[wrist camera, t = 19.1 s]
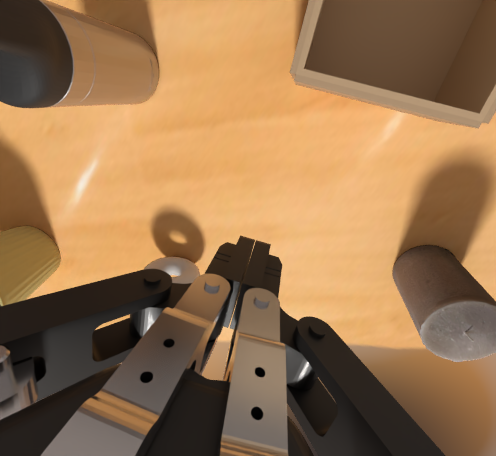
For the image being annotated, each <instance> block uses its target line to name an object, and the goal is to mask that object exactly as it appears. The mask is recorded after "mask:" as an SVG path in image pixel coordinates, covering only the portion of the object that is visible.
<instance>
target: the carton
mask: <svg viewBox="0 0 496 456" xmlns="http://www.w3.org/2000/svg"><path fill="white" fill-rule="evenodd" d="M290 74H291V76H292V78H294V82H295V84H296V85H300V86H303V87H307V88H311V89H315V90H319V91H323V92H327V93H331V94H334V95H338V96H342V97H346V98H350V99H354V100H358V101H361V102H365V103H369V104H373V105H377V106H381V107H385V108H388V109H392V110H396V111H400V112H404V113H408V114H412V115H416V116H419V117H423V118H427V119H431V120H435V121H439V122H445V123H450V124H456V125H462V126H467V127H473V128H479V127H480V125H481V123H488V124H489V122H490V120H491V119H492V117H493V115H494V113H495V112H496V0H309V2H308V5H307V9H306V13H305V17H304V21H303V24H302V28H301V32H300V36H299V40H298V43H297V47H296V51H295V55H294V59H293V62H292V66H291V70H290Z"/></svg>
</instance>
